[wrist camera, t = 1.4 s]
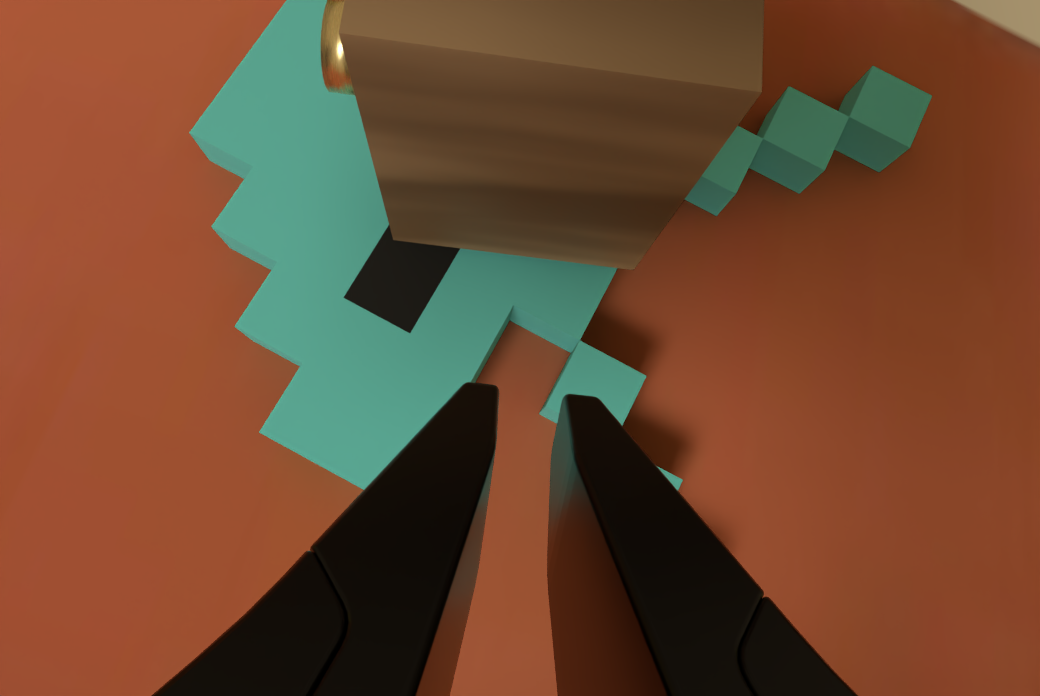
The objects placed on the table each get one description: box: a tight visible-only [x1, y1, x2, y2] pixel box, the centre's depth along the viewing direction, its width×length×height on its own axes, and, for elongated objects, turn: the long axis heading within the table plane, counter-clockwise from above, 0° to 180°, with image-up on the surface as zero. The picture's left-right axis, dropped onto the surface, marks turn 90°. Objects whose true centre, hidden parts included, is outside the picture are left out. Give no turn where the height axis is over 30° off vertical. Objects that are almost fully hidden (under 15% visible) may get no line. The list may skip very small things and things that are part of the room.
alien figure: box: [189, 0, 932, 490], centre depth 23 cm, size 20×2×20 cm
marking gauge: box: [321, 0, 764, 270], centre depth 17 cm, size 8×8×9 cm
